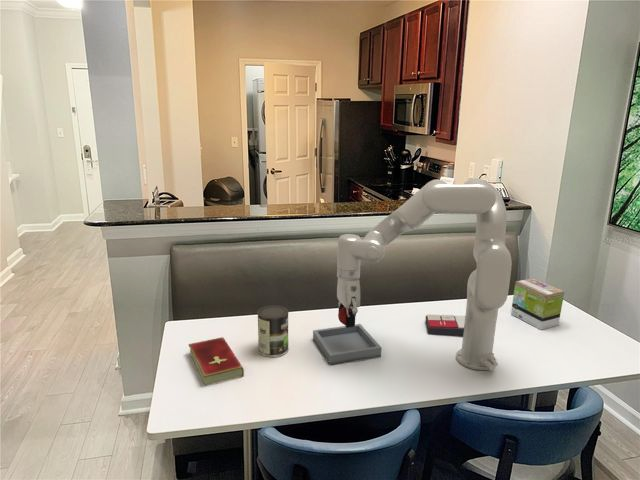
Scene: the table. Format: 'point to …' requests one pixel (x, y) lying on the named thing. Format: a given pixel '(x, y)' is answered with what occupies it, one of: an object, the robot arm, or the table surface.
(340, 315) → the onion
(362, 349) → the tray
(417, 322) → the table surface
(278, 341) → the coffee can
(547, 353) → the table surface
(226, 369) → the hardcover book
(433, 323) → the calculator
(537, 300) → the tea box
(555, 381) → the table surface
